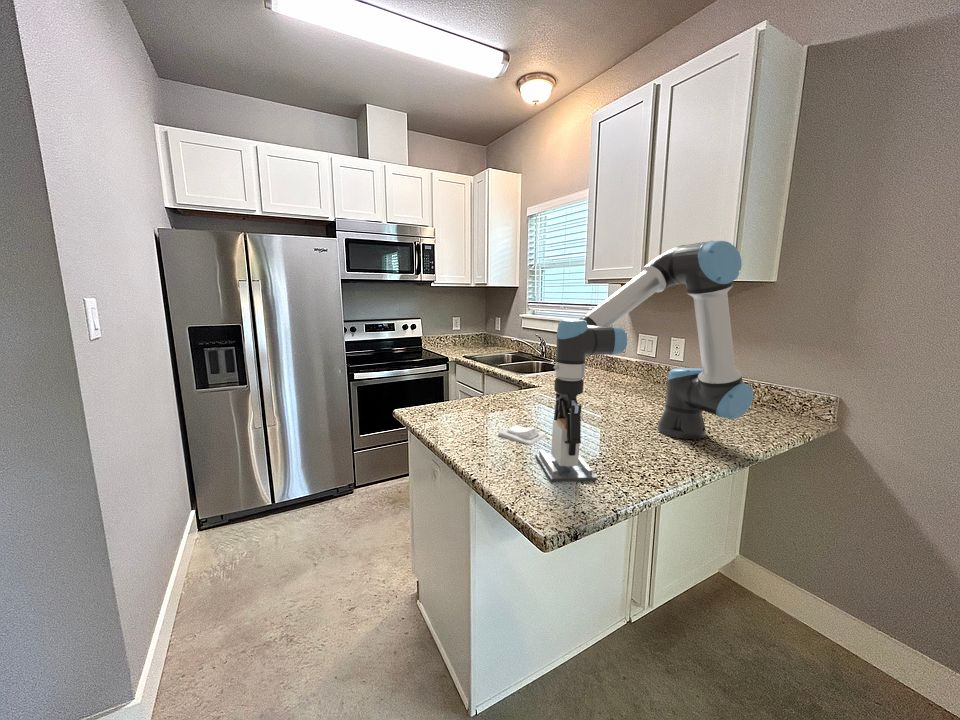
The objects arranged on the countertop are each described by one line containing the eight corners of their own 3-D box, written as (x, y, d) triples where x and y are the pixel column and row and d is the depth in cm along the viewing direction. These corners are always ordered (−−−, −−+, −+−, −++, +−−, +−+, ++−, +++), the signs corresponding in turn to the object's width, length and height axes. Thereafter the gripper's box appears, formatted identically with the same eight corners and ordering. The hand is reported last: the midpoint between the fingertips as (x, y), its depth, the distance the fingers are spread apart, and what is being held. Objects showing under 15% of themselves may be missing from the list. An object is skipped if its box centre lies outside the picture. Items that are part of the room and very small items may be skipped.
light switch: (531, 437, 122) (498, 425, 130) (530, 449, 123) (497, 437, 130) (548, 428, 130) (516, 417, 138) (546, 439, 131) (515, 428, 139)
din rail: (574, 455, 115) (575, 447, 115) (596, 480, 100) (596, 471, 99) (535, 456, 114) (535, 448, 114) (551, 482, 98) (551, 473, 98)
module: (568, 453, 111) (570, 417, 109) (578, 465, 103) (580, 426, 101) (551, 453, 110) (553, 417, 108) (559, 466, 102) (562, 427, 100)
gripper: (544, 370, 112) (541, 444, 116) (568, 387, 92) (563, 476, 96) (569, 370, 113) (565, 443, 117) (598, 387, 93) (592, 475, 97)
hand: (564, 458), depth 106 cm, fingers closed on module, 8 cm apart
